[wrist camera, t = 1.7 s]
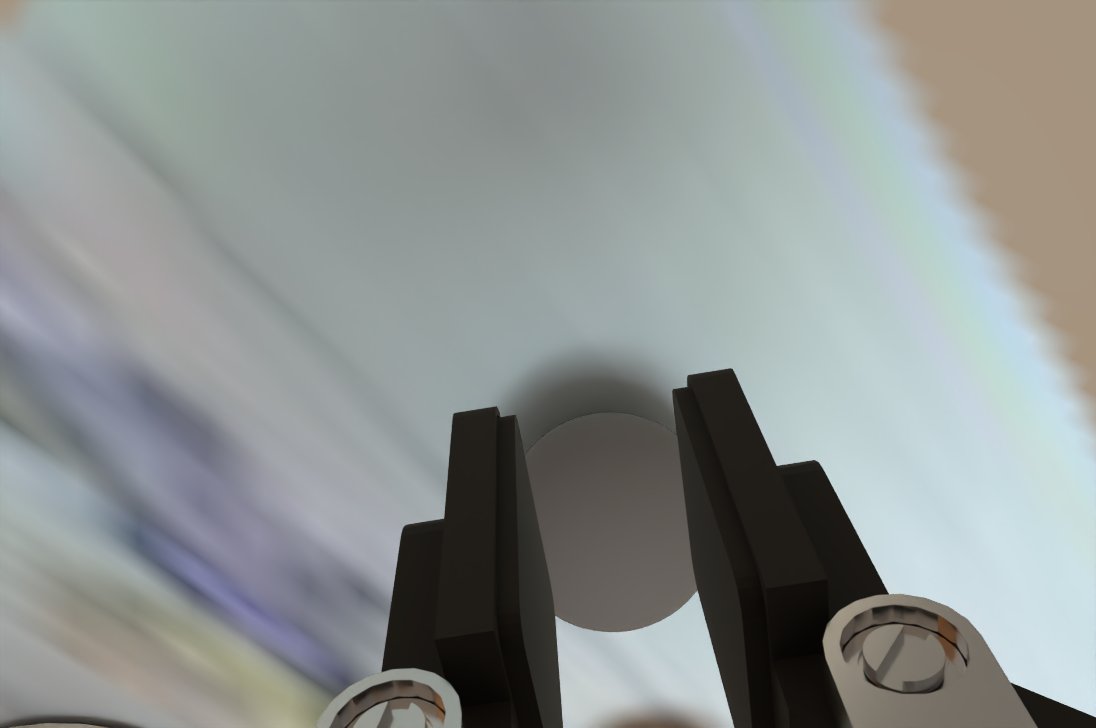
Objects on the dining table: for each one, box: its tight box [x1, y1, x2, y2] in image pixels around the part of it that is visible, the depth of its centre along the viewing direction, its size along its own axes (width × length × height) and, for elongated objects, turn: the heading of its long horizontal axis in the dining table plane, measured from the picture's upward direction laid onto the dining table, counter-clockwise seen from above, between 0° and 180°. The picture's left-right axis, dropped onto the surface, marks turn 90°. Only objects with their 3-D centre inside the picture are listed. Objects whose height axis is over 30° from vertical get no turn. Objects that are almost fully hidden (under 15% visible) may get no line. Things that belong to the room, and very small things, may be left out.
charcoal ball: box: [525, 412, 697, 632], centre depth 27 cm, size 6×6×6 cm
